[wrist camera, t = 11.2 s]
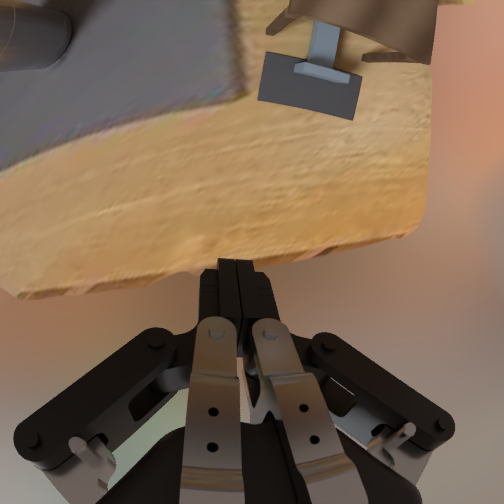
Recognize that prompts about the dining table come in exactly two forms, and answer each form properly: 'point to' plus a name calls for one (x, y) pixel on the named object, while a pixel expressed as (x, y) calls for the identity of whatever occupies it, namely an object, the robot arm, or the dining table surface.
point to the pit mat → (306, 88)
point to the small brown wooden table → (374, 24)
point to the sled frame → (322, 54)
